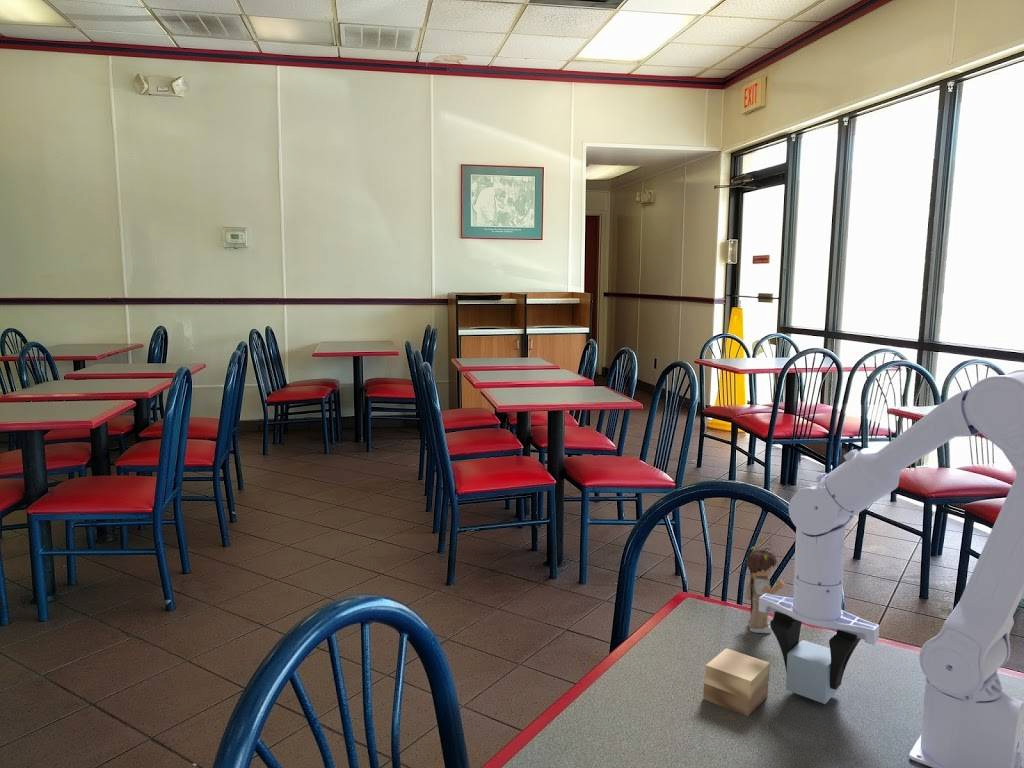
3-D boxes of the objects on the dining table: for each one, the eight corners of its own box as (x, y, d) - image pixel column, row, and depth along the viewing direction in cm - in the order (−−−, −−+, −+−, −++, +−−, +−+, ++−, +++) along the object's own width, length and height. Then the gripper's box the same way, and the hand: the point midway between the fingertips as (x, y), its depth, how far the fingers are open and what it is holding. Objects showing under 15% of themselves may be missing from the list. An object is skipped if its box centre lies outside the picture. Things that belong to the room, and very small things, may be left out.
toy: (782, 639, 112) (787, 544, 110) (745, 636, 113) (749, 542, 111) (776, 621, 118) (781, 531, 116) (740, 618, 119) (744, 529, 117)
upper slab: (769, 681, 96) (770, 662, 96) (750, 700, 92) (751, 681, 91) (725, 665, 100) (726, 648, 100) (705, 683, 96) (705, 665, 95)
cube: (839, 688, 97) (841, 651, 96) (825, 704, 93) (827, 666, 92) (800, 675, 100) (802, 639, 99) (785, 689, 96) (787, 653, 96)
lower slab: (767, 698, 97) (768, 680, 96) (747, 718, 92) (748, 699, 92) (724, 682, 101) (724, 665, 100) (703, 700, 96) (703, 682, 96)
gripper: (889, 583, 93) (882, 685, 94) (775, 555, 102) (771, 649, 104) (871, 600, 87) (864, 708, 89) (753, 570, 97) (749, 668, 99)
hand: (813, 678), depth 96 cm, fingers closed on cube, 5 cm apart
